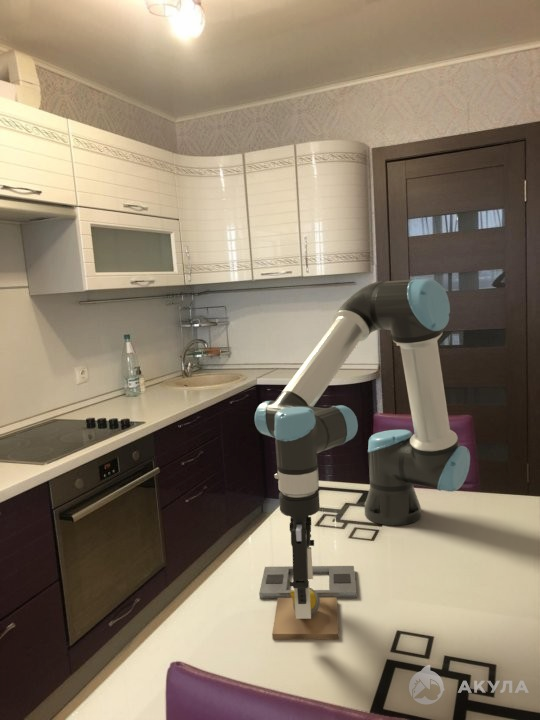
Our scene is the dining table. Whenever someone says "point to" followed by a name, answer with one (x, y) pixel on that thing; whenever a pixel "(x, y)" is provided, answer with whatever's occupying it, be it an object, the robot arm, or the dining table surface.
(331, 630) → the pad
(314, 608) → the yellow knob cap
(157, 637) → the dining table surface
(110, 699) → the dining table surface
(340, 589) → the grey rectangular frame
